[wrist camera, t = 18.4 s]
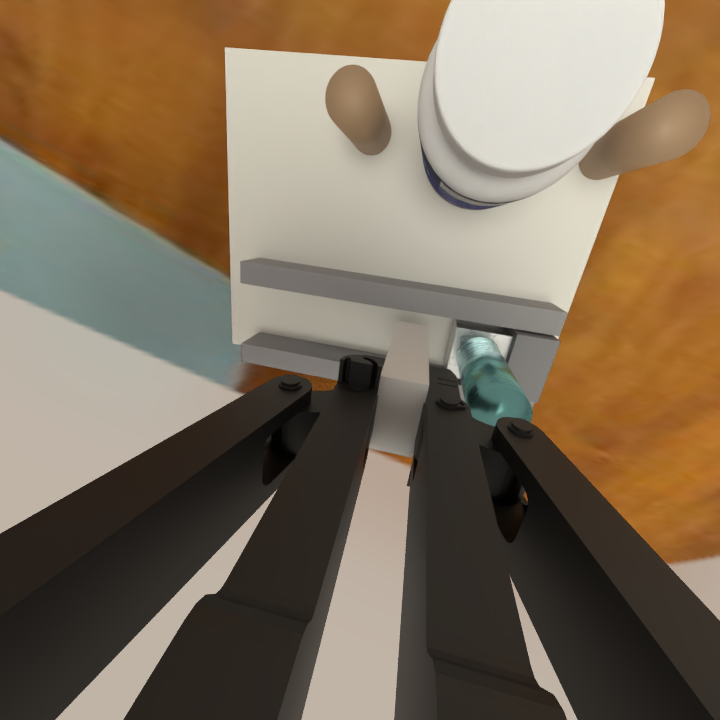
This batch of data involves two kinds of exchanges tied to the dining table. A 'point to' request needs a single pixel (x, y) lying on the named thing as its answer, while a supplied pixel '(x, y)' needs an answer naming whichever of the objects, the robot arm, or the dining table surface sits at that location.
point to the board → (401, 217)
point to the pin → (485, 371)
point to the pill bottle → (527, 91)
